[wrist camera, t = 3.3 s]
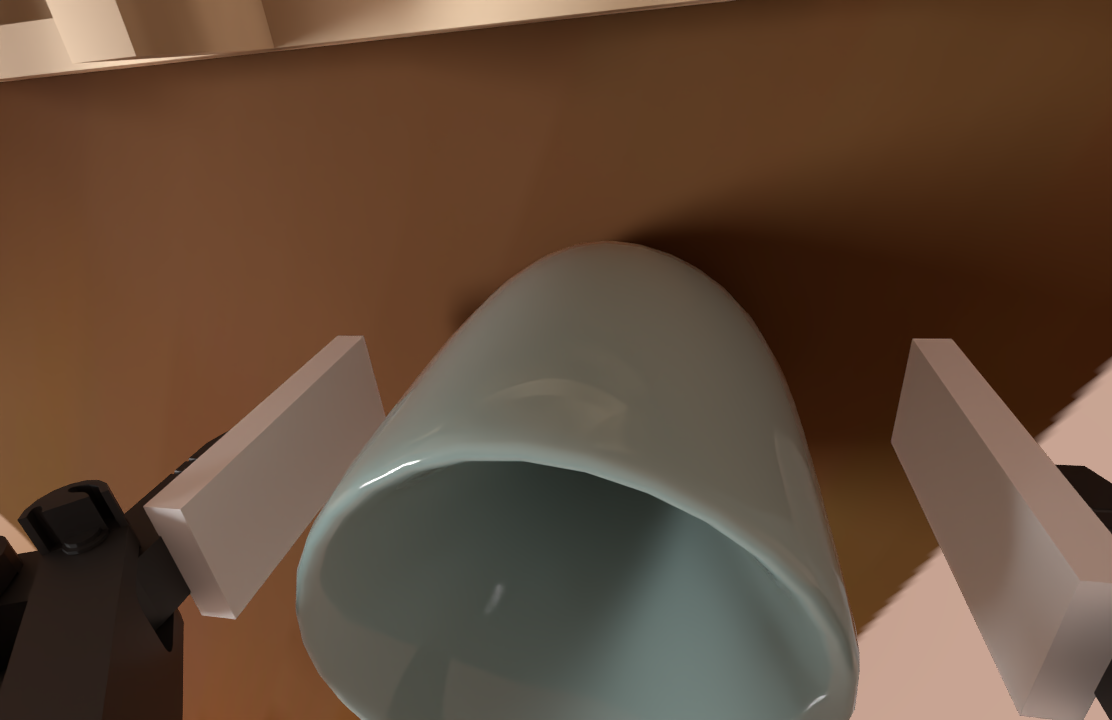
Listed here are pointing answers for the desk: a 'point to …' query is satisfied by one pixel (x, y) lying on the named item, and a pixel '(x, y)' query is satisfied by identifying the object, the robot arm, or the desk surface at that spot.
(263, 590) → the desk surface
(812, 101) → the desk surface
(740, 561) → the cup
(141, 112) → the desk surface
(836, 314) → the desk surface
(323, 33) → the rack
